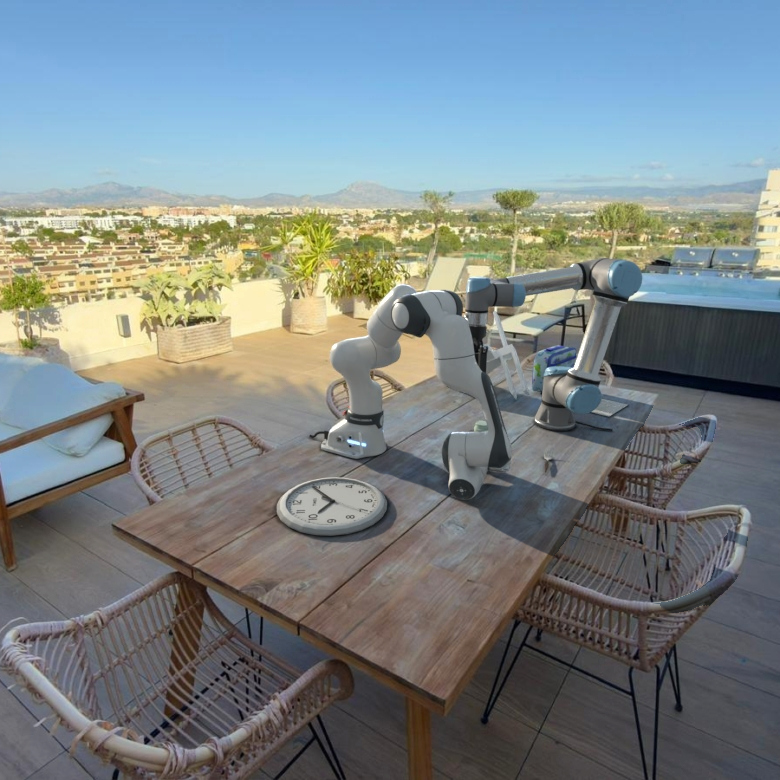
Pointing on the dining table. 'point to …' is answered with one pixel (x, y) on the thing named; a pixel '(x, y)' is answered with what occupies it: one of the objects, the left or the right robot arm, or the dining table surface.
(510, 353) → the white plastic object
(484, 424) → the jar
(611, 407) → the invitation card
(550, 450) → the fork
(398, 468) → the dining table surface
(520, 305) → the right robot arm
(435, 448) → the dining table surface
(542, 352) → the lunch box
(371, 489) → the wall clock
